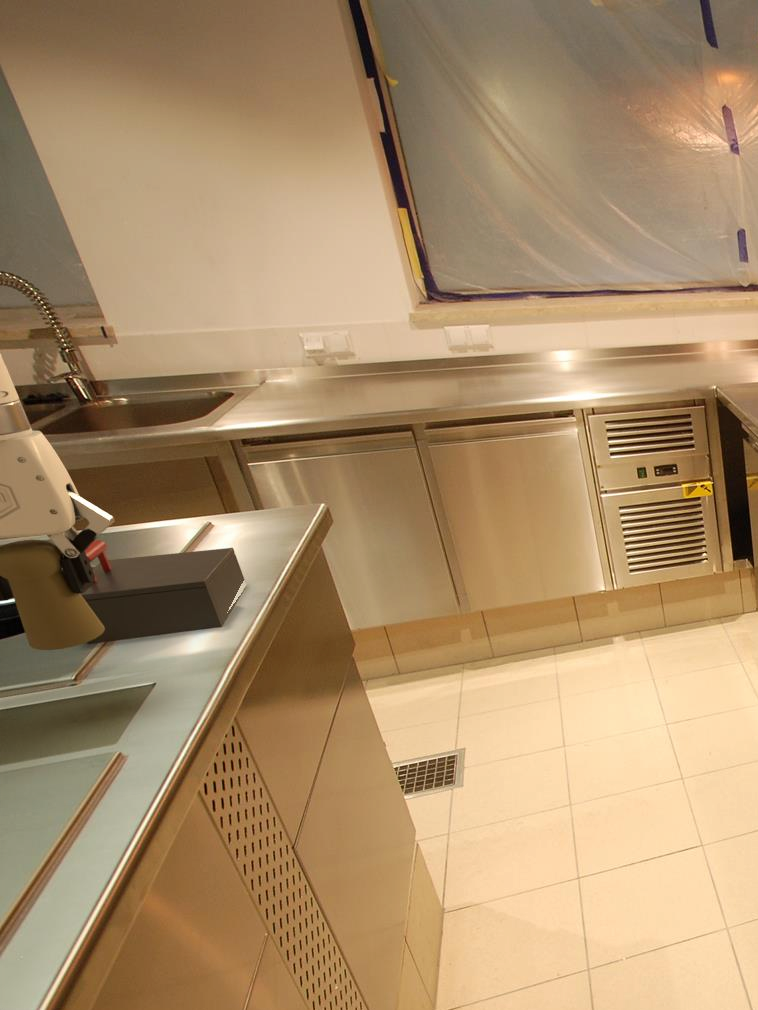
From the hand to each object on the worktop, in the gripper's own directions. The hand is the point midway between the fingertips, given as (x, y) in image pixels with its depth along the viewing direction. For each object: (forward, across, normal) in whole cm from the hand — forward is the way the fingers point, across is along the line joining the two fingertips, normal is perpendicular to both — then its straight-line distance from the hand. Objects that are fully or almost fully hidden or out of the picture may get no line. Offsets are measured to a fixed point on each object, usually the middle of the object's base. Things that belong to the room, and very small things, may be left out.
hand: (47, 591), depth 90 cm
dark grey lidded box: (+14, +1, +26) cm, 29 cm away
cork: (+6, 0, 0) cm, 6 cm away
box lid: (+7, 0, +26) cm, 27 cm away
